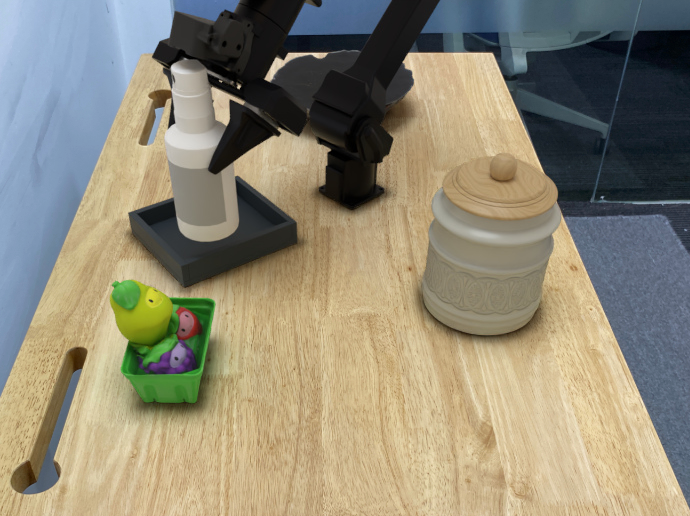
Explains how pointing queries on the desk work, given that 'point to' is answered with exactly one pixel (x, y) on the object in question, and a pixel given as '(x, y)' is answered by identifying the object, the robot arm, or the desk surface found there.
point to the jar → (490, 244)
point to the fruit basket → (162, 340)
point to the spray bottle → (198, 159)
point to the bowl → (310, 72)
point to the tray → (221, 255)
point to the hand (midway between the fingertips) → (189, 160)
